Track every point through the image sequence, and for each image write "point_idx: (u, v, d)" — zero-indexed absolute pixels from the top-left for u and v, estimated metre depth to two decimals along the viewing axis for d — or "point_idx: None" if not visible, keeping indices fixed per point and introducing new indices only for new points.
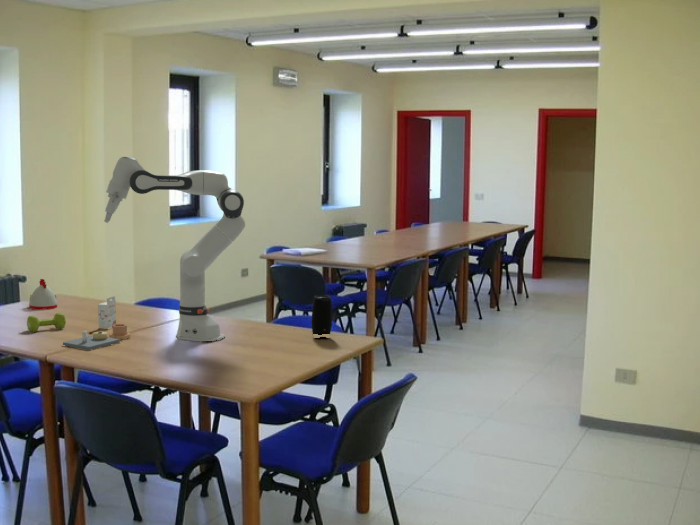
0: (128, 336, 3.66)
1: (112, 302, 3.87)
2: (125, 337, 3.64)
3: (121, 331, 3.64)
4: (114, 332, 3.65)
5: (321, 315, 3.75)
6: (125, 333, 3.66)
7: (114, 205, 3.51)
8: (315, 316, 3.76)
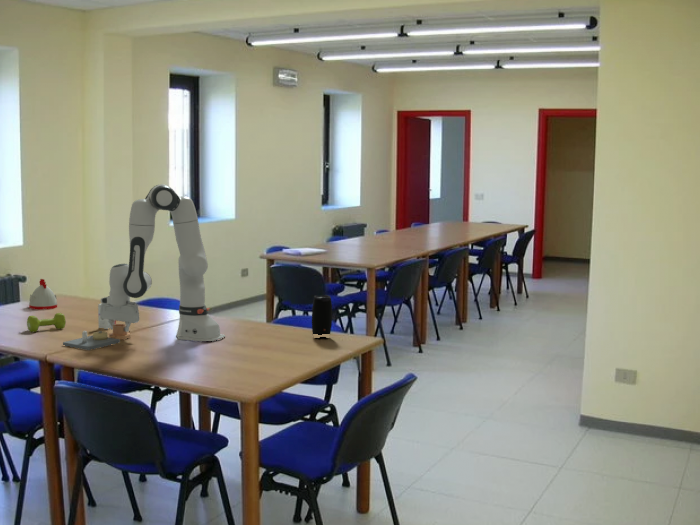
0: (128, 336, 3.66)
1: None
2: (125, 337, 3.64)
3: (121, 331, 3.64)
4: (114, 332, 3.65)
5: (321, 315, 3.75)
6: (125, 333, 3.66)
7: (138, 314, 3.63)
8: (315, 316, 3.76)
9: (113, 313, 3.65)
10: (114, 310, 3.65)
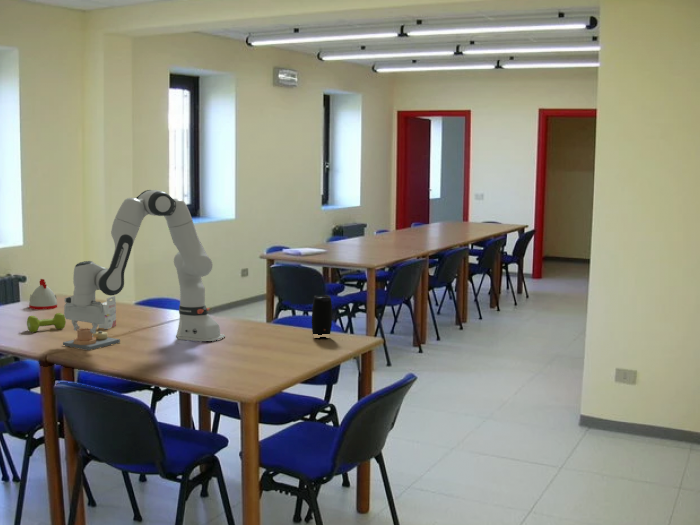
0: (93, 341, 3.47)
1: (112, 302, 3.87)
2: (90, 342, 3.45)
3: (86, 335, 3.46)
4: (79, 337, 3.46)
5: (321, 315, 3.75)
6: (90, 338, 3.47)
7: (104, 314, 3.44)
8: (315, 316, 3.76)
9: (78, 313, 3.46)
10: (79, 310, 3.46)
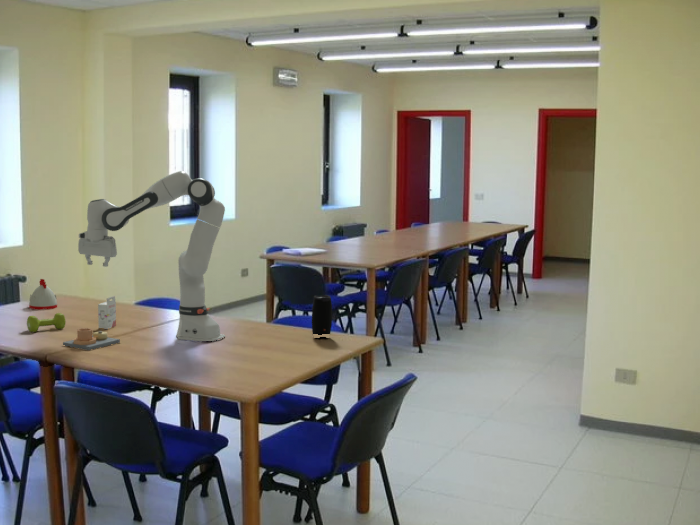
0: (93, 341, 3.47)
1: (112, 302, 3.87)
2: (90, 342, 3.45)
3: (86, 335, 3.46)
4: (79, 337, 3.46)
5: (321, 315, 3.75)
6: (90, 338, 3.47)
7: (115, 248, 3.66)
8: (315, 316, 3.76)
9: (91, 248, 3.69)
10: (92, 245, 3.69)
